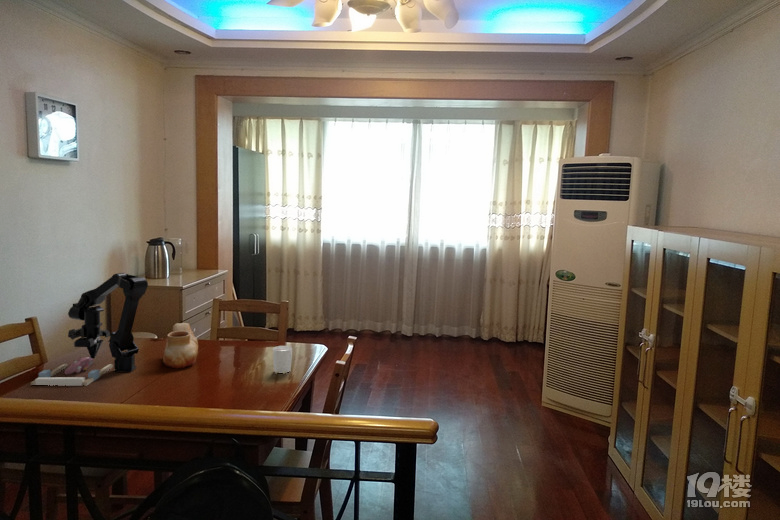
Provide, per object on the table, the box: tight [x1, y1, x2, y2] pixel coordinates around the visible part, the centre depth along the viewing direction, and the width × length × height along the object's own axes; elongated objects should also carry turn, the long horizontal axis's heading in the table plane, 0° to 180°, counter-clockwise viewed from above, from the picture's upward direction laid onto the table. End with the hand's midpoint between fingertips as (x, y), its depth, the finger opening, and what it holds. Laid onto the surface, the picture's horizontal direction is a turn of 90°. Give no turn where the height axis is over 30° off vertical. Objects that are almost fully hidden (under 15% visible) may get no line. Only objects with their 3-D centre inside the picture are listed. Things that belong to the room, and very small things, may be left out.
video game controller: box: [64, 356, 94, 375], centre depth 202 cm, size 10×5×7 cm, turn 169°
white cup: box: [272, 345, 293, 373], centre depth 211 cm, size 8×8×10 cm
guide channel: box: [30, 363, 114, 387], centre depth 197 cm, size 20×22×3 cm
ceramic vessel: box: [162, 322, 199, 369], centre depth 221 cm, size 14×26×15 cm, turn 19°
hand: (93, 358), depth 212 cm, fingers closed
